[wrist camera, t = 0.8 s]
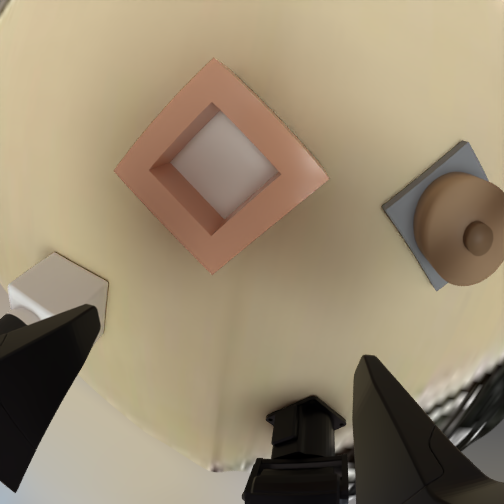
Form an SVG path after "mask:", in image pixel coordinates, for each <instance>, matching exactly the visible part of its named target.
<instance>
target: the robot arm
mask: <svg viewBox="0 0 504 504" xmlns="http://www.w3.org/2000/svg"><path fill="white" fill-rule="evenodd" d="M100 329H101V323H100V319H99V314H98V310H97V308H96V306H94V305H90V304H84V305H81V306H78V307H76V308H73V309H70V310H67V311H65V312H62V313H59V314H57V315H54V316H51V317H49V318H46V319H43V320H41V321H38V322H35V323H32V324H30V325H27V326H24V327H22V328H19V329H16V330H14V331H11V332H9V333H8V334H7V333H6V334H3V335H0V481H1V482H2V483H3V484H4V485H6V486H7V487H8V488H10V489H11V490H12V491H13V492H15V493H16V491H17V489H18V488H19V485H20V483H21V481H22V479H23V476H24V474H25V472H26V470H27V468H28V466H29V464H30V462H31V459H32V458H33V456H34V453H35V451H36V450H35V449H37V447H38V445H39V443H40V441H41V439H42V437H43V435H44V434H45V432H46V430H47V428H48V426H49V424H50V422H51V420H52V419H53V417H54V415H55V413H56V411H57V409H58V408H59V406H60V404H61V402H62V400H63V398H64V397H65V395H66V393H67V392H68V390H69V388H70V387H71V385H72V383H73V381H74V380H75V378H76V376H77V375H78V373H79V371H80V370H81V368H82V366H83V365H84V363H85V361H86V359H87V357H88V355H89V352H90V350H91V348H92V346H93V344H94V342H95V340H96V338H97V336H98V334H99V332H100ZM266 421H267V422H269V423H270V424H272V425H273V426H274V428H273V435H272V442H271V444H272V445H273V449H272V456H271V459H263V458H257V459H256V462H255V464H254V465H253V468H252V471H251V474H250V476H249V479H248V482H247V485H246V487H245V490H244V492H243V494H242V499H243V500H244V501H245V504H348V460H347V454H342V455H338V456H335V441H334V430H336V429H339V428H341V427H344V426H345V425H346V420H345V419H343V418H342V417H341V416H339V415H338V414H337V413H336V412H334V411H333V410H332V409H331V408H329V407H328V406H327V405H326V404H325V403H323V402H322V401H321V400H320V399H318V398H317V397H315V396H311V397H308V398H306V399H304V400H302V401H300V402H297V403H295V404H293V405H291V406H288V407H286V408H284V409H281V410H279V411H276V412H274V413H272V414H269V415H267V416H266ZM352 421H353V437H354V453H355V474H356V504H504V483H503V482H498V481H495V480H493V479H490V478H489V477H487V476H486V475H485V474H484V473H482V472H481V471H480V470H479V469H478V468H477V467H476V466H475V465H474V464H473V463H472V462H471V461H470V460H469V459H468V458H467V457H466V456H465V455H463V453H461V452H460V451H459V450H458V449H457V448H456V447H455V446H454V445H453V444H452V443H451V441H450V440H449V439H448V438H447V437H446V436H445V435H444V434H443V432H442V431H441V430H440V429H439V428H438V427H437V426H436V425H435V423H434V422H433V421H432V420H431V419H430V417H429V416H428V415H427V414H426V413H425V412H424V411H423V409H422V408H421V407H420V406H419V405H418V404H417V402H416V401H415V400H414V399H413V398H412V397H411V396H410V394H409V393H408V392H407V391H406V390H405V389H404V388H403V386H402V385H401V384H400V383H399V382H398V381H397V380H396V378H395V377H394V376H393V375H392V374H391V373H390V372H389V371H388V369H387V368H386V367H385V366H384V365H383V364H382V363H381V362H380V360H379V359H378V358H377V357H376V356H374V355H363V356H362V357H361V359H360V362H359V364H358V366H357V369H356V371H355V374H354V384H353V417H352ZM434 425H435V426H434Z"/></svg>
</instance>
